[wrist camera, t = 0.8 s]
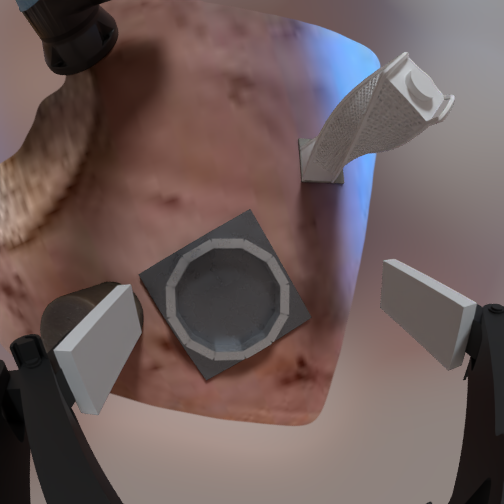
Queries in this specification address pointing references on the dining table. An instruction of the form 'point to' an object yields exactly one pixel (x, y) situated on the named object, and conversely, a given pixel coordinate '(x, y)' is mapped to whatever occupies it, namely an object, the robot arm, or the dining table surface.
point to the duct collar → (226, 295)
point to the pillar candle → (75, 312)
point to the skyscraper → (373, 119)
